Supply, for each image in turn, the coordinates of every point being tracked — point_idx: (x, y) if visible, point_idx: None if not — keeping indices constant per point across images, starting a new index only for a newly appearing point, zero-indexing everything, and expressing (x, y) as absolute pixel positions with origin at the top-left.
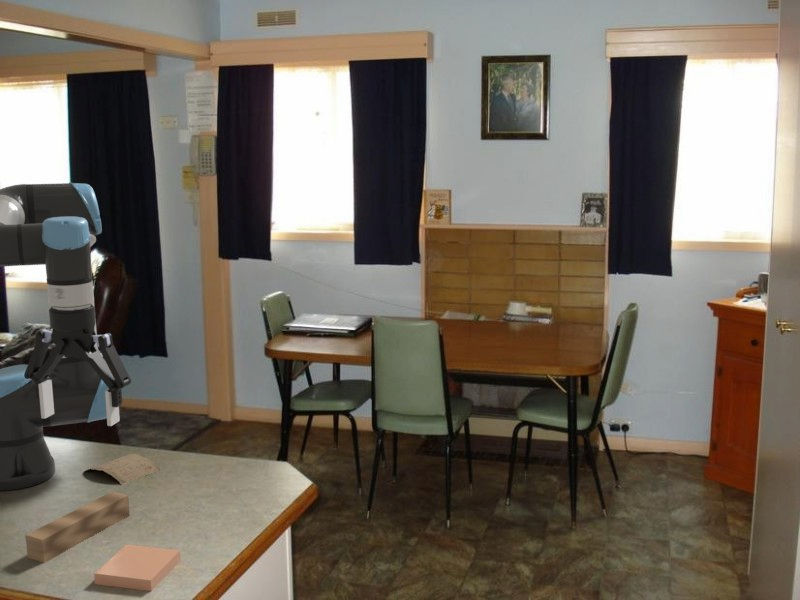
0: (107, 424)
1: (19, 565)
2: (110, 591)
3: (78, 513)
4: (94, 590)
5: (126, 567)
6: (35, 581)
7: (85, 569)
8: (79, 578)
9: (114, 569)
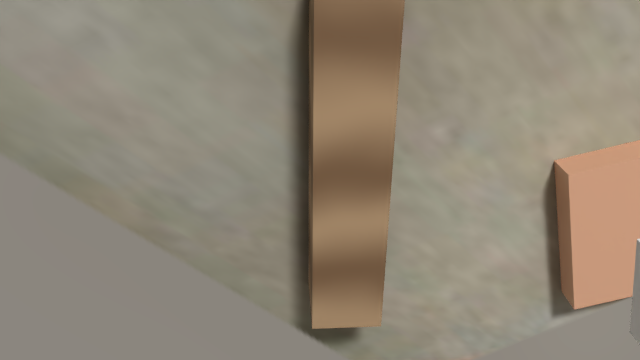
0: (636, 339)
1: None
2: None
3: (345, 170)
4: None
5: None
6: (419, 339)
7: (494, 259)
8: (509, 290)
9: (613, 278)
